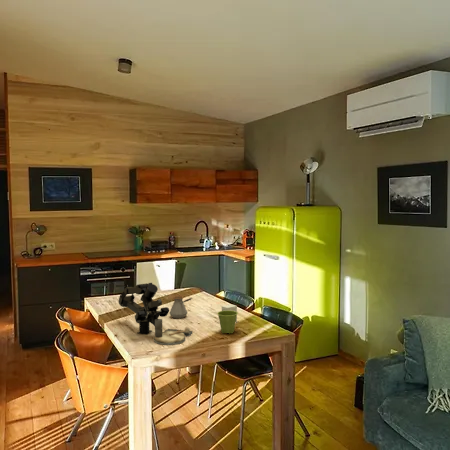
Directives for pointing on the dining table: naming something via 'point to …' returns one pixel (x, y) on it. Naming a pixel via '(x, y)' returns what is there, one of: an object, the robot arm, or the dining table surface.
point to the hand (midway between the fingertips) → (156, 326)
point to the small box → (230, 308)
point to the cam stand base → (174, 342)
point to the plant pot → (227, 321)
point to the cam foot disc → (168, 333)
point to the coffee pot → (179, 308)
